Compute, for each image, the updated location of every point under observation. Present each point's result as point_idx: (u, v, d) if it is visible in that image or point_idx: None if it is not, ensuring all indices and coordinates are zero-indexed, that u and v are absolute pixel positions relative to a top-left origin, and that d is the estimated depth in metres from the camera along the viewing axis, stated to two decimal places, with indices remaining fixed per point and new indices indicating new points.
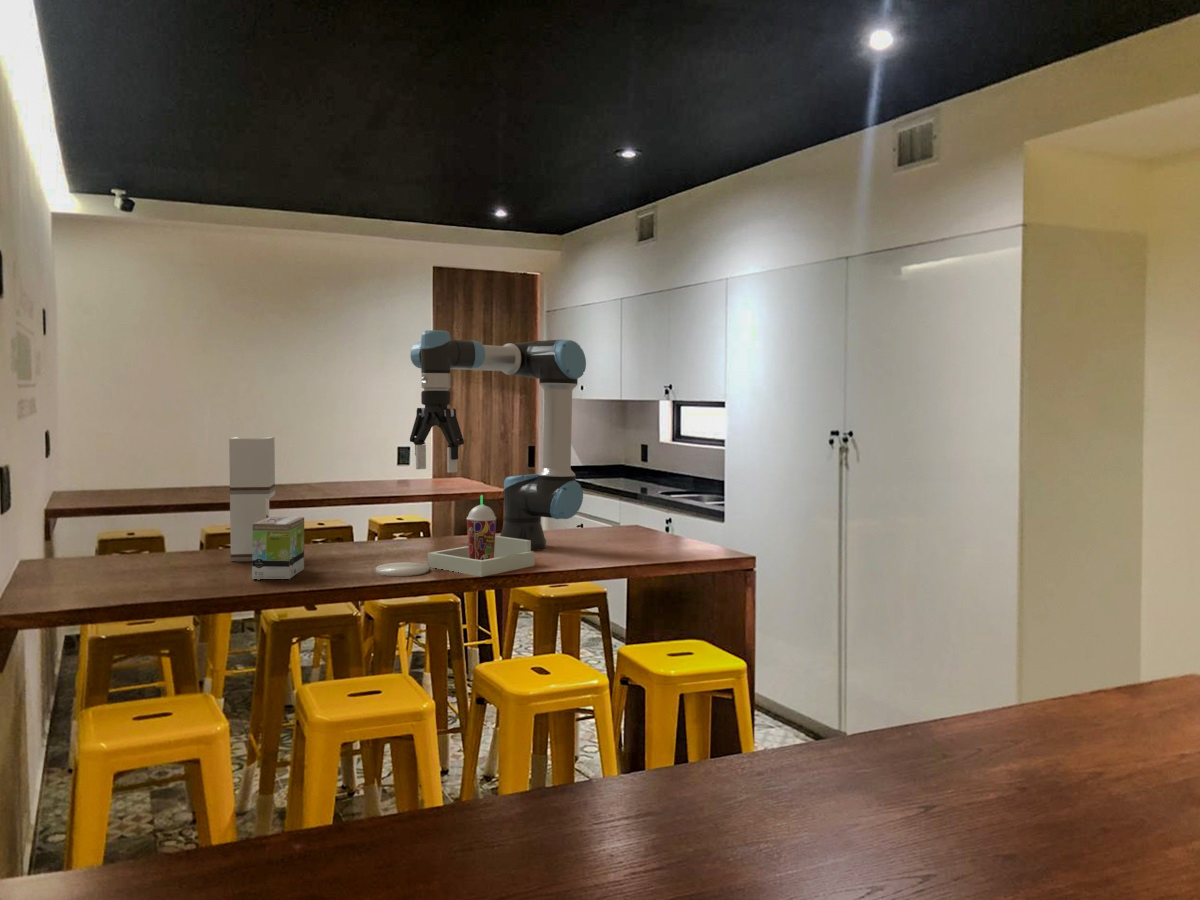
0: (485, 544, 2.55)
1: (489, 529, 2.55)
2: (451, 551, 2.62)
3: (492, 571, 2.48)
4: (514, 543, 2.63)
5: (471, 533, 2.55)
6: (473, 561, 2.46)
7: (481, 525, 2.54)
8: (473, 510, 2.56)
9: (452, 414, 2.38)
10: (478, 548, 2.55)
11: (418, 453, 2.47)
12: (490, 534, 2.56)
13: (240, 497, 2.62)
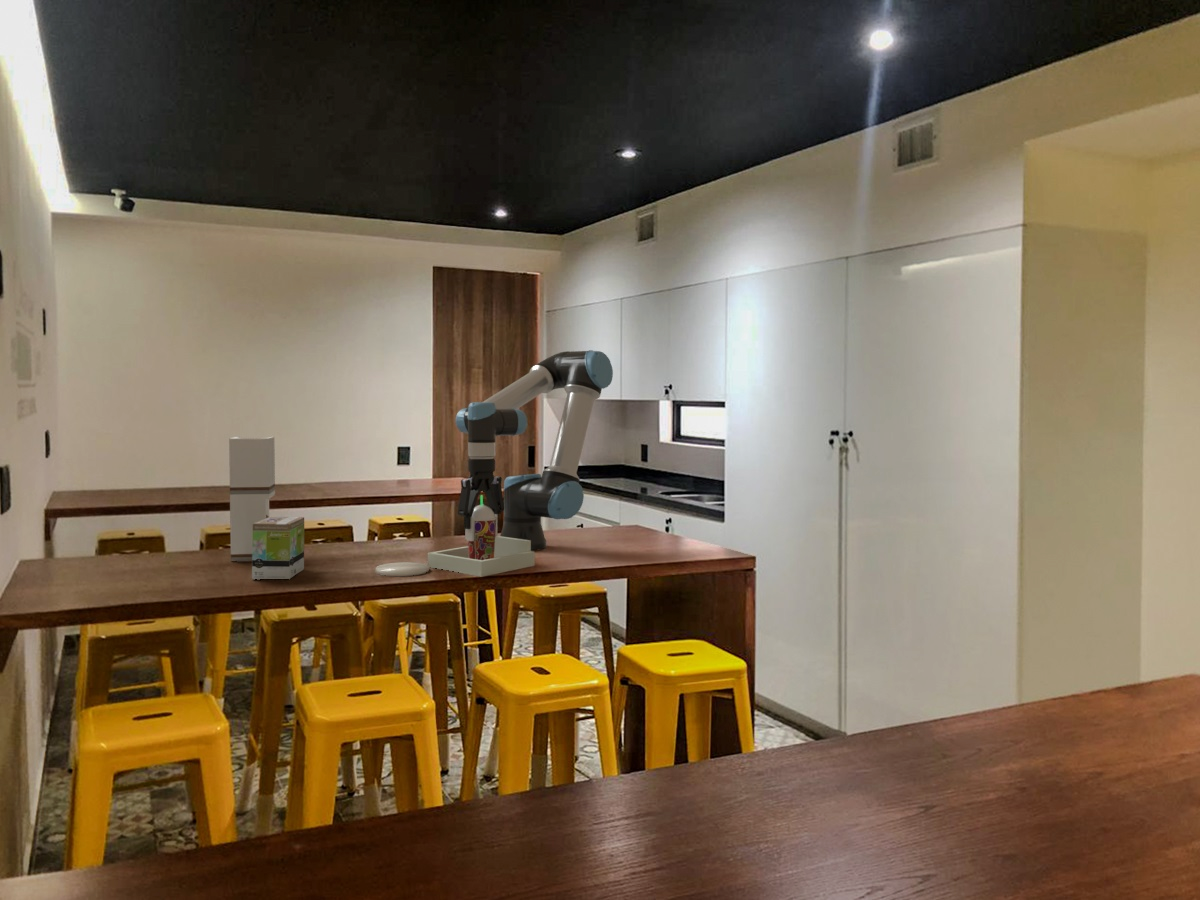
0: (485, 544, 2.55)
1: (489, 529, 2.55)
2: (451, 551, 2.62)
3: (492, 571, 2.48)
4: (514, 543, 2.63)
5: None
6: (473, 561, 2.46)
7: (481, 525, 2.54)
8: None
9: (464, 485, 2.52)
10: (478, 548, 2.55)
11: None
12: (490, 534, 2.56)
13: (240, 497, 2.62)
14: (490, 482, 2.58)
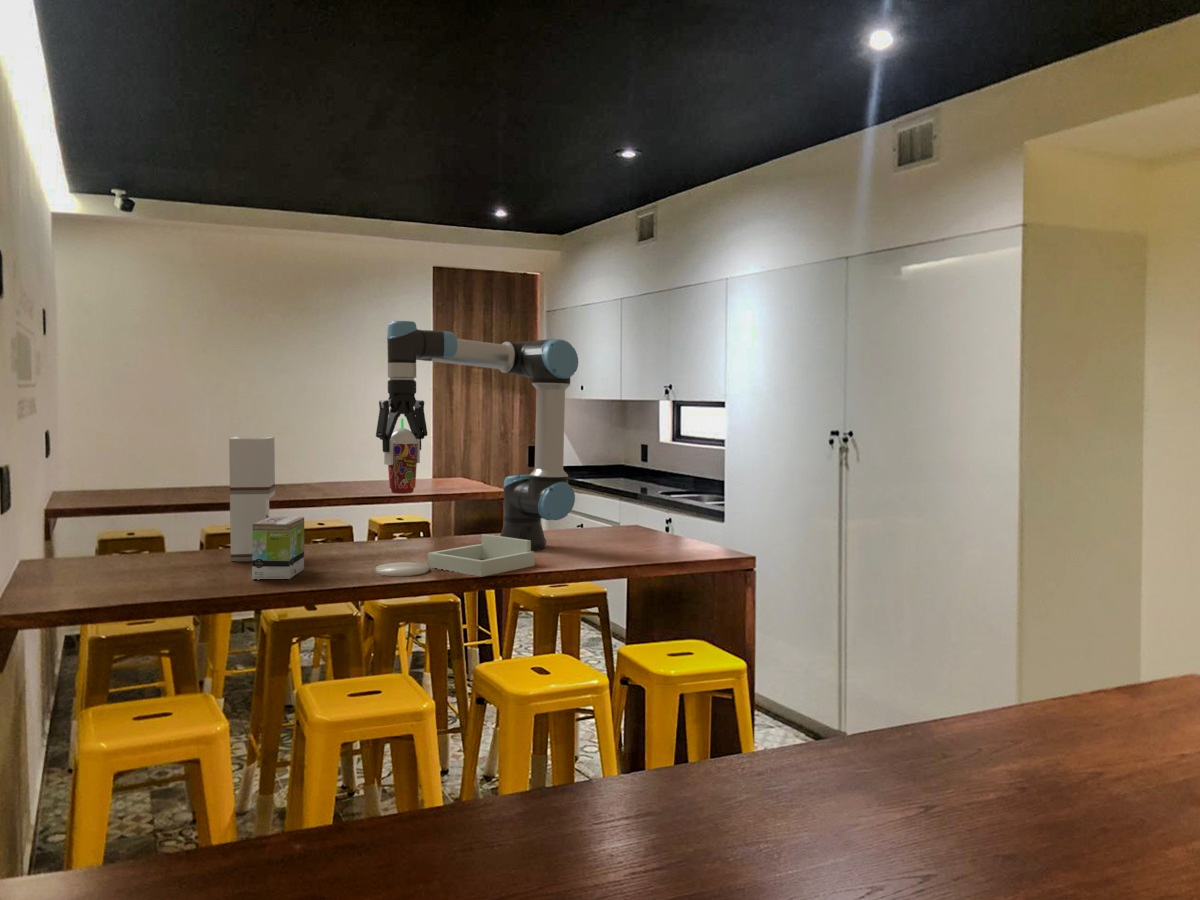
0: (405, 468, 2.46)
1: (409, 453, 2.46)
2: (451, 551, 2.62)
3: (492, 571, 2.48)
4: (514, 543, 2.63)
5: None
6: (473, 561, 2.46)
7: (401, 448, 2.45)
8: (393, 433, 2.47)
9: (382, 406, 2.43)
10: (397, 472, 2.46)
11: None
12: (410, 458, 2.46)
13: (240, 497, 2.62)
14: (411, 405, 2.48)
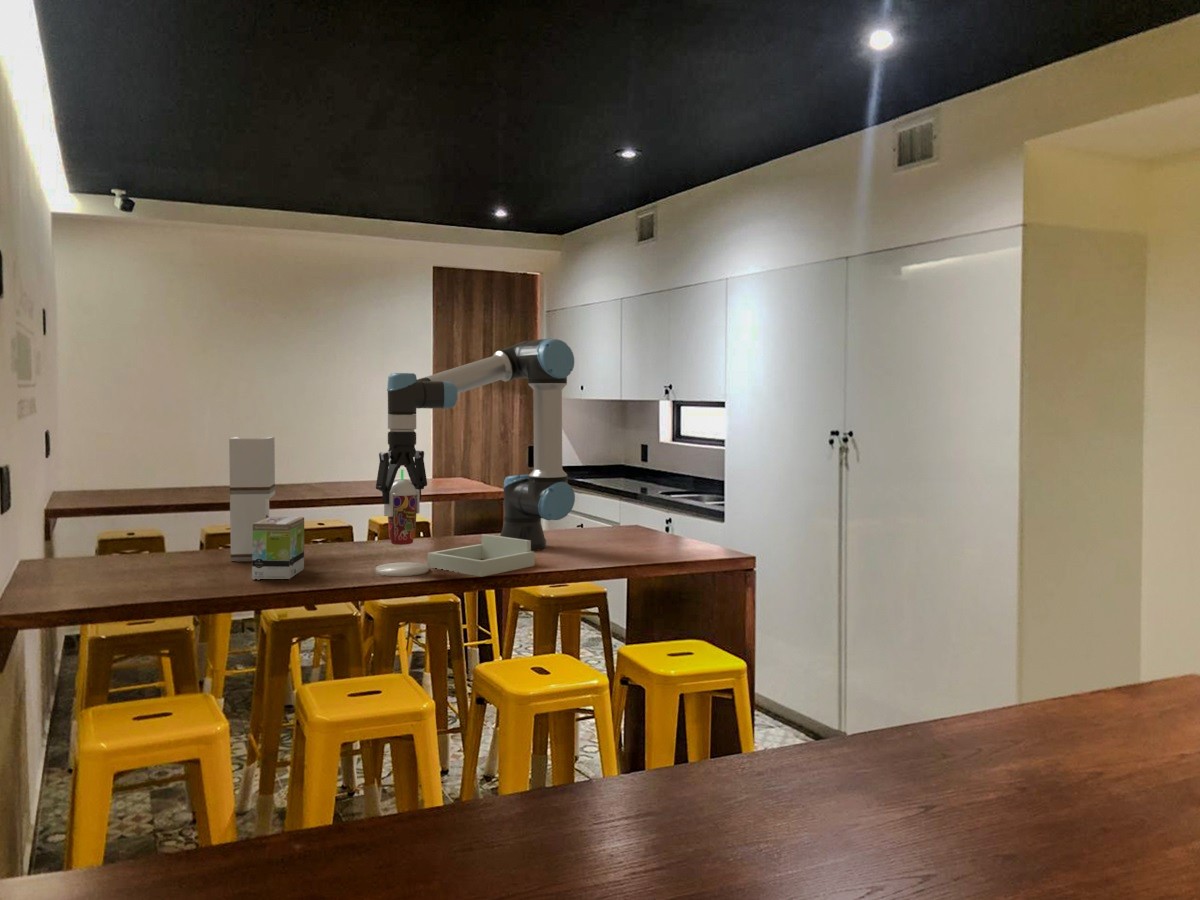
0: (405, 520, 2.46)
1: (409, 504, 2.47)
2: (451, 551, 2.62)
3: (492, 571, 2.48)
4: (514, 543, 2.63)
5: None
6: (473, 561, 2.46)
7: (400, 500, 2.46)
8: (393, 484, 2.47)
9: (382, 458, 2.44)
10: (397, 524, 2.46)
11: None
12: (410, 509, 2.47)
13: (240, 497, 2.62)
14: (411, 456, 2.49)
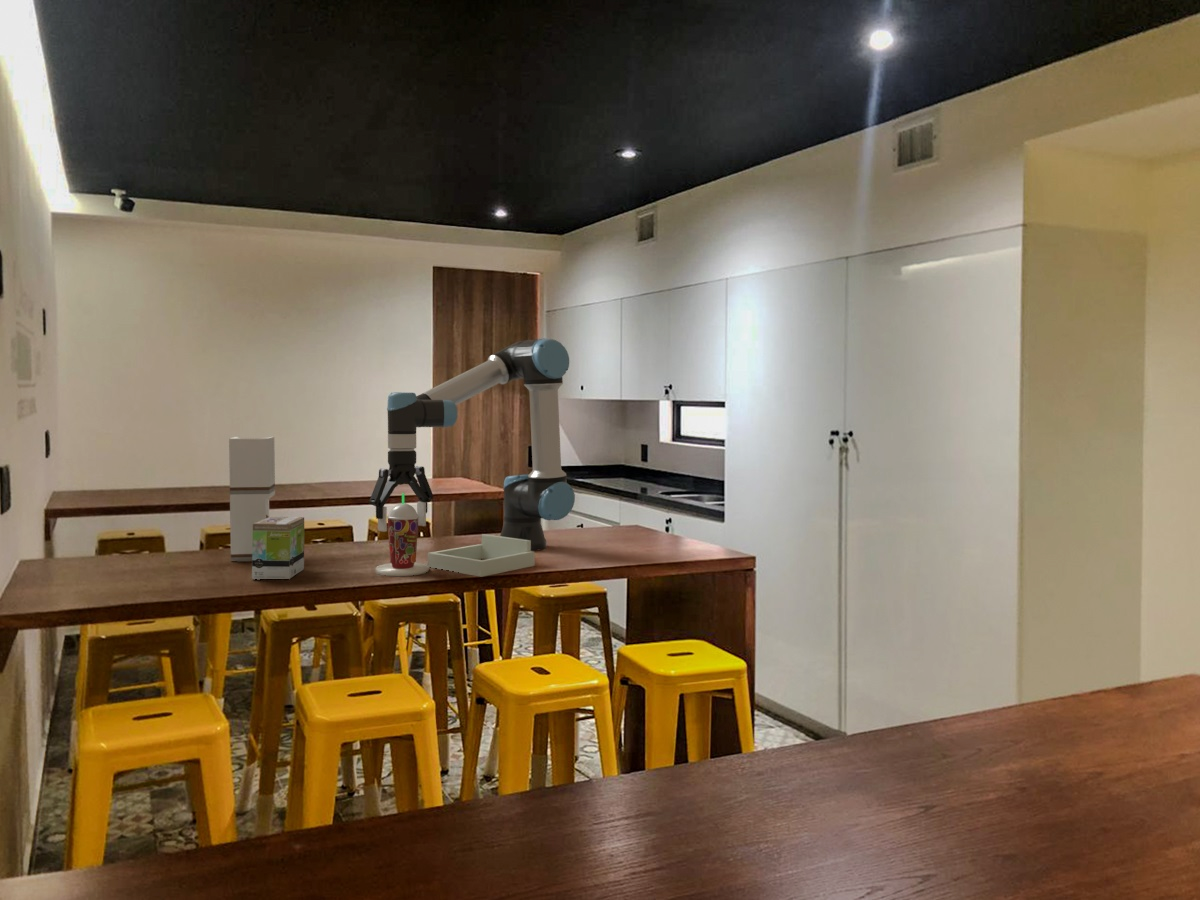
0: (406, 544, 2.47)
1: (410, 528, 2.47)
2: (451, 551, 2.62)
3: (492, 571, 2.48)
4: (514, 543, 2.63)
5: (391, 532, 2.47)
6: (473, 561, 2.46)
7: (401, 524, 2.46)
8: (394, 508, 2.48)
9: (381, 474, 2.44)
10: (398, 548, 2.47)
11: (417, 510, 2.55)
12: (411, 533, 2.48)
13: (240, 497, 2.62)
14: (411, 475, 2.49)
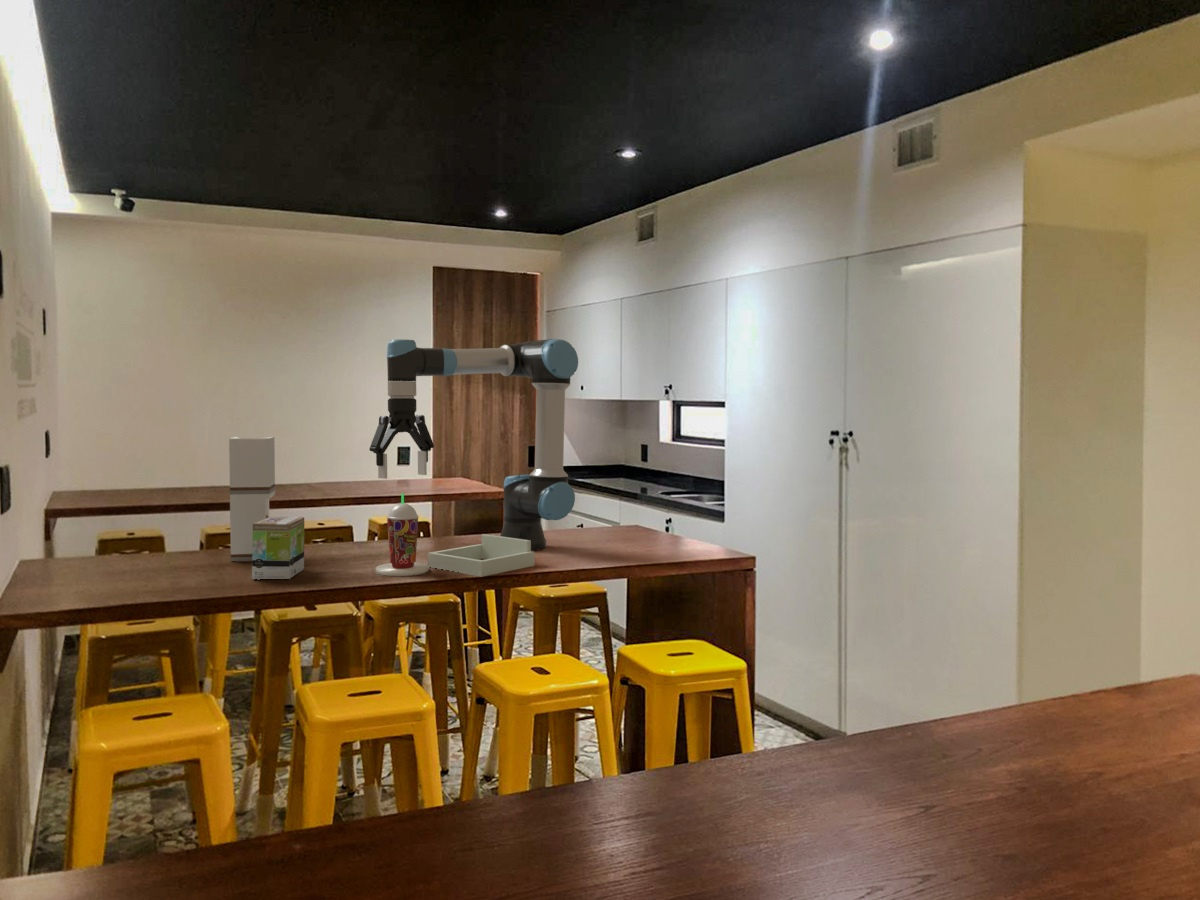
0: (405, 544, 2.47)
1: (410, 528, 2.47)
2: (451, 551, 2.62)
3: (492, 571, 2.48)
4: (514, 543, 2.63)
5: (391, 532, 2.47)
6: (473, 561, 2.46)
7: (401, 524, 2.46)
8: (393, 509, 2.48)
9: (381, 421, 2.43)
10: (398, 548, 2.47)
11: (418, 459, 2.55)
12: (411, 533, 2.48)
13: (240, 497, 2.62)
14: (411, 422, 2.49)
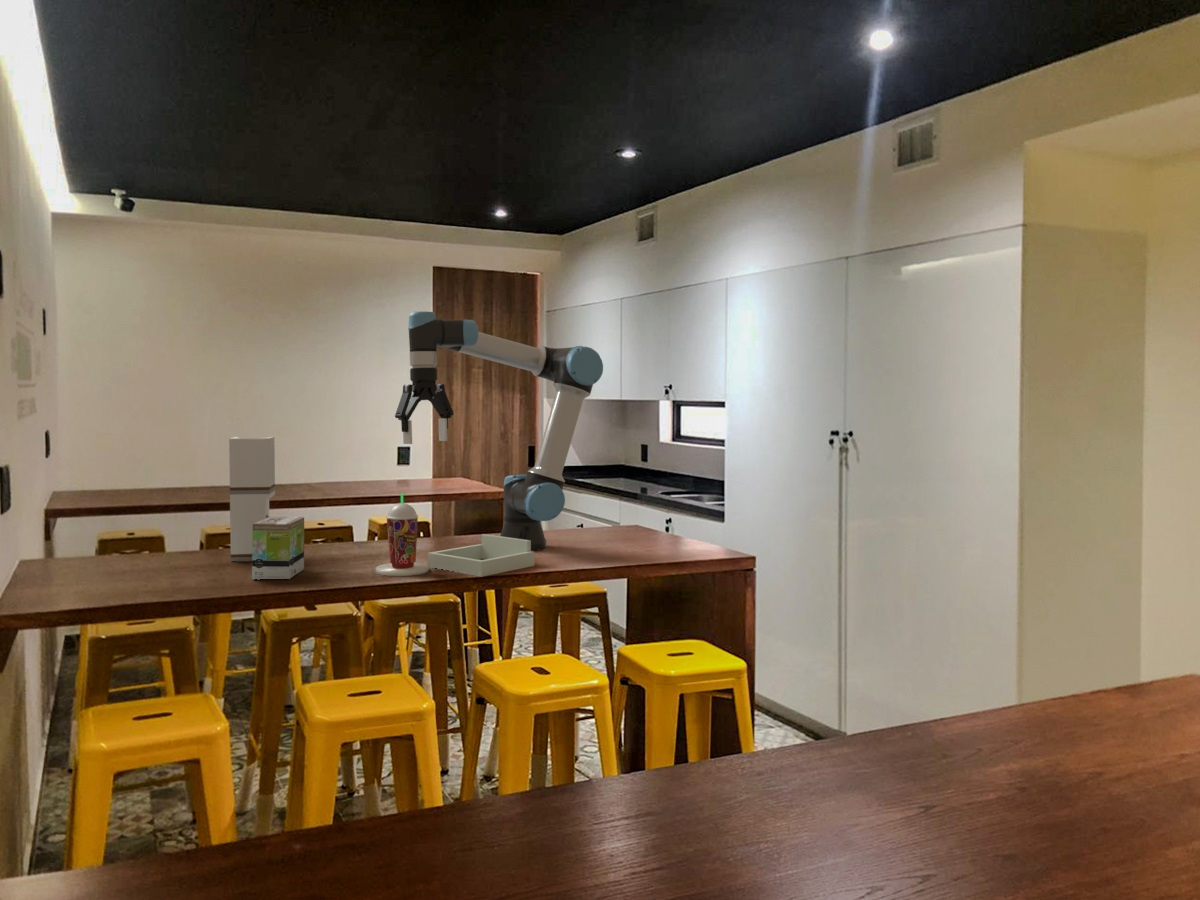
0: (405, 543, 2.47)
1: (409, 528, 2.47)
2: (451, 551, 2.62)
3: (492, 571, 2.48)
4: (514, 543, 2.63)
5: (391, 532, 2.47)
6: (473, 561, 2.46)
7: (401, 524, 2.46)
8: (393, 509, 2.48)
9: (406, 389, 2.55)
10: (398, 548, 2.47)
11: (439, 426, 2.68)
12: (410, 533, 2.48)
13: (240, 497, 2.62)
14: (433, 391, 2.61)
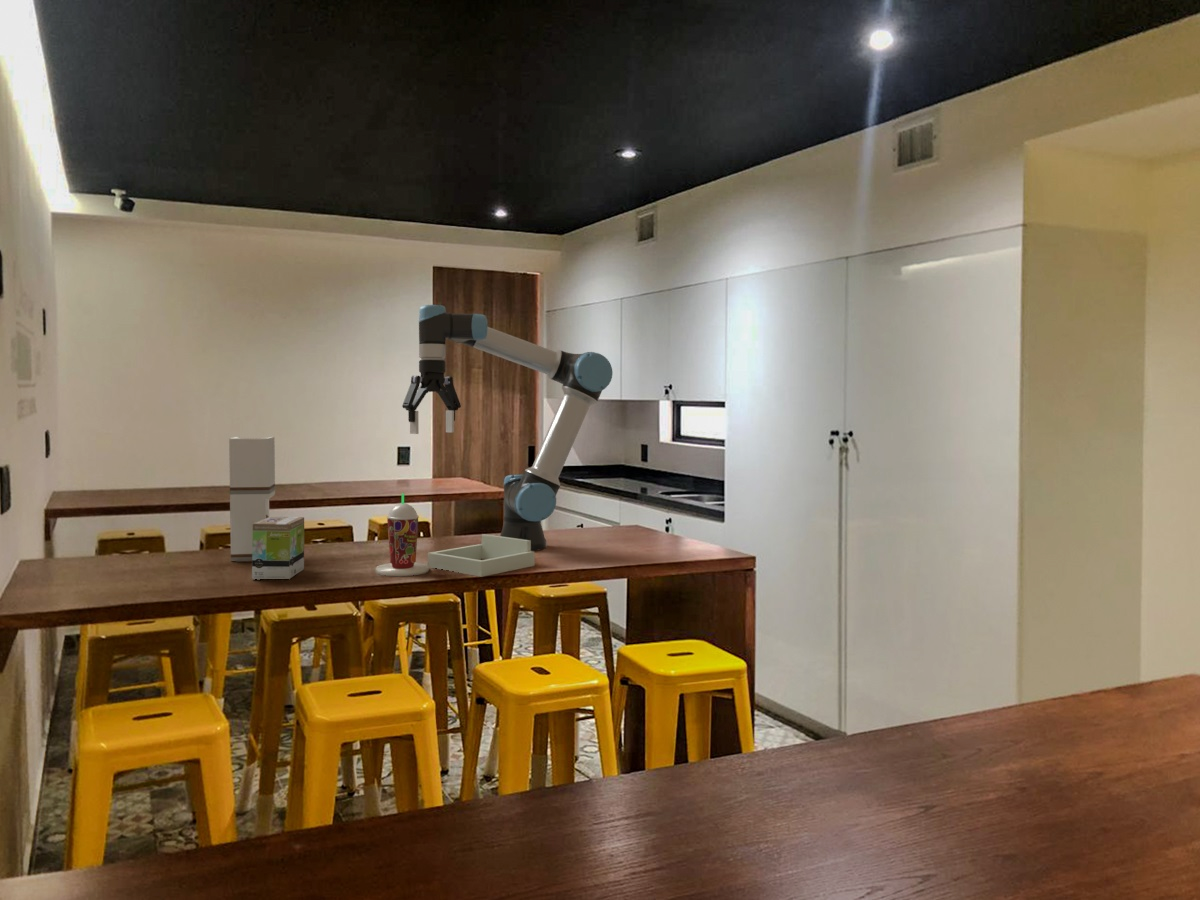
0: (406, 544, 2.47)
1: (410, 528, 2.47)
2: (451, 551, 2.62)
3: (492, 571, 2.48)
4: (514, 543, 2.63)
5: (391, 532, 2.47)
6: (473, 561, 2.46)
7: (401, 524, 2.46)
8: (393, 509, 2.48)
9: (414, 380, 2.61)
10: (398, 548, 2.47)
11: (446, 418, 2.73)
12: (411, 533, 2.48)
13: (240, 497, 2.62)
14: (441, 383, 2.67)
